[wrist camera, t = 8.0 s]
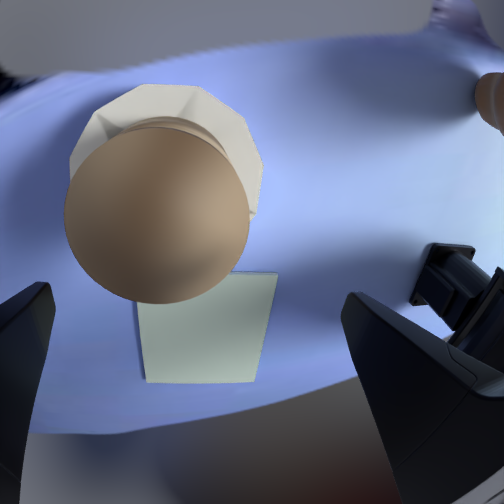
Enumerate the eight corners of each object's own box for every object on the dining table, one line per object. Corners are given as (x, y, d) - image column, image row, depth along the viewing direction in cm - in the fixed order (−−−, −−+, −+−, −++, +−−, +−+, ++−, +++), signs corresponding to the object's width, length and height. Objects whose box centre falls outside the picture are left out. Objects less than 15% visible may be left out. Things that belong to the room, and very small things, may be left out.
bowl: (261, 93, 17) (274, 95, 14) (239, 246, 22) (247, 272, 19) (90, 86, 15) (71, 86, 12) (91, 240, 19) (78, 266, 17)
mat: (277, 272, 23) (278, 275, 23) (253, 378, 29) (254, 381, 28) (135, 268, 21) (134, 271, 21) (146, 379, 26) (146, 382, 26)
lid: (241, 121, 14) (263, 137, 10) (225, 249, 18) (237, 305, 13) (98, 115, 13) (59, 129, 9) (100, 244, 16) (76, 300, 12)
